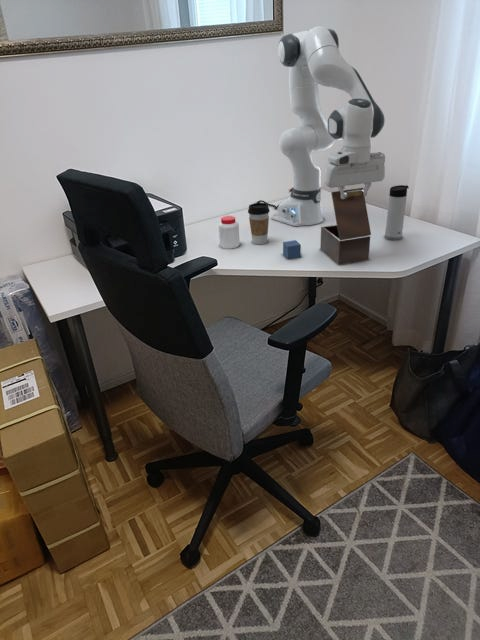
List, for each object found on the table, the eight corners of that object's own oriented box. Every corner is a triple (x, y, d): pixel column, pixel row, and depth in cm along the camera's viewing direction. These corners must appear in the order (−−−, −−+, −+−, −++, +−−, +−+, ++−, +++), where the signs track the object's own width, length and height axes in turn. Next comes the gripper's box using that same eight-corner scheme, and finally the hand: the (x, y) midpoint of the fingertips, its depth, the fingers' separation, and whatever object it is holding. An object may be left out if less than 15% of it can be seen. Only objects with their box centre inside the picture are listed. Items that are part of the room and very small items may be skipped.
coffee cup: (246, 244, 193) (244, 207, 185) (253, 237, 200) (251, 200, 192) (266, 246, 190) (265, 208, 183) (273, 238, 197) (272, 201, 190)
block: (287, 259, 178) (287, 246, 176) (283, 254, 183) (282, 241, 180) (300, 257, 179) (300, 244, 177) (295, 252, 184) (295, 239, 181)
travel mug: (403, 240, 188) (409, 188, 178) (385, 240, 189) (390, 188, 179) (401, 234, 193) (408, 183, 183) (384, 234, 195) (389, 183, 185)
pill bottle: (232, 249, 189) (231, 222, 184) (216, 246, 193) (214, 219, 187) (243, 243, 195) (242, 216, 189) (227, 240, 198) (225, 213, 193)
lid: (331, 192, 167) (337, 188, 162) (362, 188, 170) (368, 184, 165) (339, 240, 168) (345, 237, 163) (370, 235, 170) (377, 232, 165)
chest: (320, 249, 185) (321, 226, 181) (348, 244, 187) (349, 222, 183) (338, 264, 172) (339, 241, 168) (368, 259, 174) (370, 236, 170)
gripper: (380, 149, 162) (376, 190, 169) (323, 156, 158) (321, 198, 165) (390, 153, 157) (386, 195, 164) (331, 160, 153) (329, 203, 160)
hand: (353, 197), depth 164 cm, fingers closed on lid, 6 cm apart
